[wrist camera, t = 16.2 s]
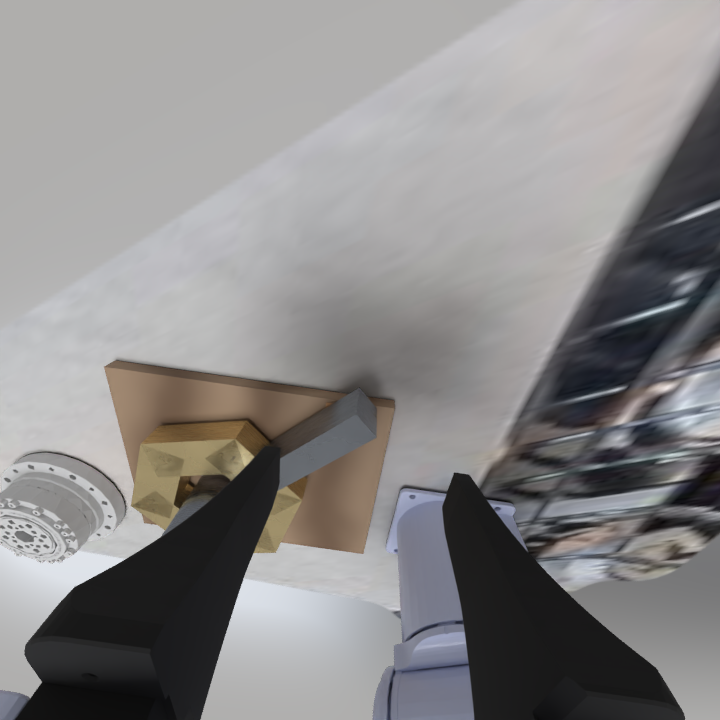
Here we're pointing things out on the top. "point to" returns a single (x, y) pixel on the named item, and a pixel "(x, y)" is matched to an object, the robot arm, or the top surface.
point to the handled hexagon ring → (247, 459)
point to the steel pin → (199, 497)
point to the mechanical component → (55, 506)
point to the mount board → (272, 419)
